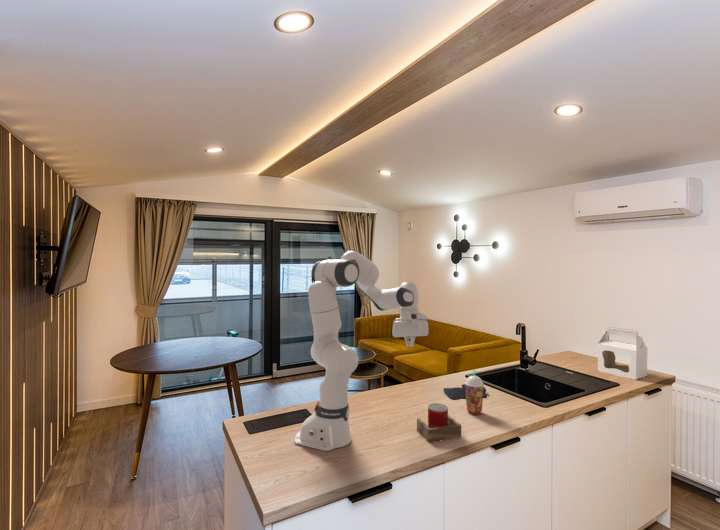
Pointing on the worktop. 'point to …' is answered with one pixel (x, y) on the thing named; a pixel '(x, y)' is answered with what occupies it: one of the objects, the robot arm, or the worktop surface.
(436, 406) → the canned food
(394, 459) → the worktop surface
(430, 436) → the holder
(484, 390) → the dark slate chunk
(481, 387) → the smoothie
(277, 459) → the worktop surface
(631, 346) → the gable box
